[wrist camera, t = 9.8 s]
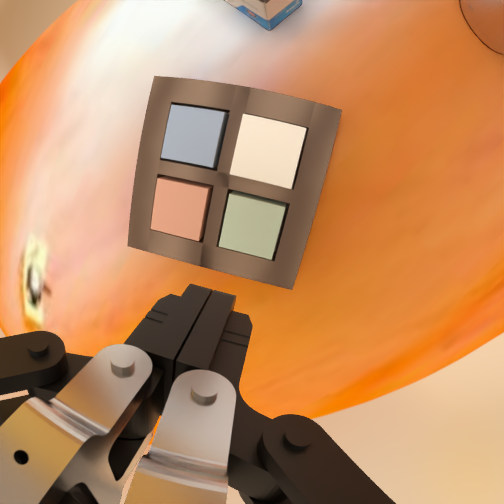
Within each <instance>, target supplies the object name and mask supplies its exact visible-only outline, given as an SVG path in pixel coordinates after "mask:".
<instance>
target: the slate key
mask: <svg viewBox="0 0 504 504" xmlns="http://www.w3.org/2000/svg"><path fill="white" fill-rule="evenodd" d="M228 118H229V114H227V113H225V112H220V111H214V110H207V109H201V108H194V107H187V106H179V105H171V109H170V113H169V118H168V123H167V128H166V133H165V138H164V143H163V148H162V154H161V158H166V159H172V160H177V161H182V162H188V163H193V164H198V165H203V166H208V167H212V168H213V167H216V166H218V164H219V159H220V154H221V150H222V145H223V140H224V136H225V132H226V127H227V123H228Z"/></svg>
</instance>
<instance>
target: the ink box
mask: <svg viewBox="0 0 504 504" xmlns="http://www.w3.org/2000/svg"><path fill="white" fill-rule="evenodd" d="M225 1H226V2H228V3H229V4H231V5H232V6H234V7H235V8H237V9H238V10H240V11H241V12H243V13H244V14H246V15H247V16H249V17H250V18H252V19H253V20H254V21H256V22H257V23H259V24H260V25H261V26H263V27H264V28H265V29H267V30H272V29H273V28H274V27H275V26H276V25H278V24H279V23H280V22H281V21H282V20H284V19H285V18H286V17H287V16H288V15H290V14H291V13H292V12H293V11H295V10H296V9H297V8H298V7H299V6H300V5H301V4H302V0H225Z"/></svg>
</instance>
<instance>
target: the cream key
mask: <svg viewBox="0 0 504 504" xmlns="http://www.w3.org/2000/svg"><path fill="white" fill-rule="evenodd" d="M305 132H306V128H304V127H300V126H296V125H292V124H288V123H284V122H280V121H275V120H271V119H267V118H262V117H257V116H252V115H247V114H243V116H242V121H241V125H240V129H239V134H238V138H237V142H236V147H235V151H234V156H233V160H232V165H231V169H230V174H231V175H235V176H239V177H244V178H248V179H252V180H257V181H261V182H265V183H269V184H273V185H277V186H281V187H285V188H289V189H291V188H292V184H293V180H294V176H295V172H296V168H297V164H298V160H299V156H300V152H301V148H302V144H303V140H304V136H305Z"/></svg>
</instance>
